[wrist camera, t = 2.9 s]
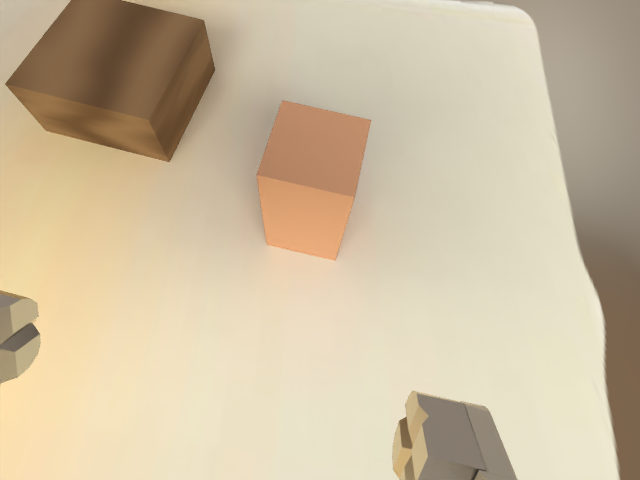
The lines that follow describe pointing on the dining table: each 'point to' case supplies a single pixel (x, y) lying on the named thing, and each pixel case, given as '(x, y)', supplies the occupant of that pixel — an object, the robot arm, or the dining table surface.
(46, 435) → the dining table surface
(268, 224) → the terracotta block
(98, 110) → the walnut block
